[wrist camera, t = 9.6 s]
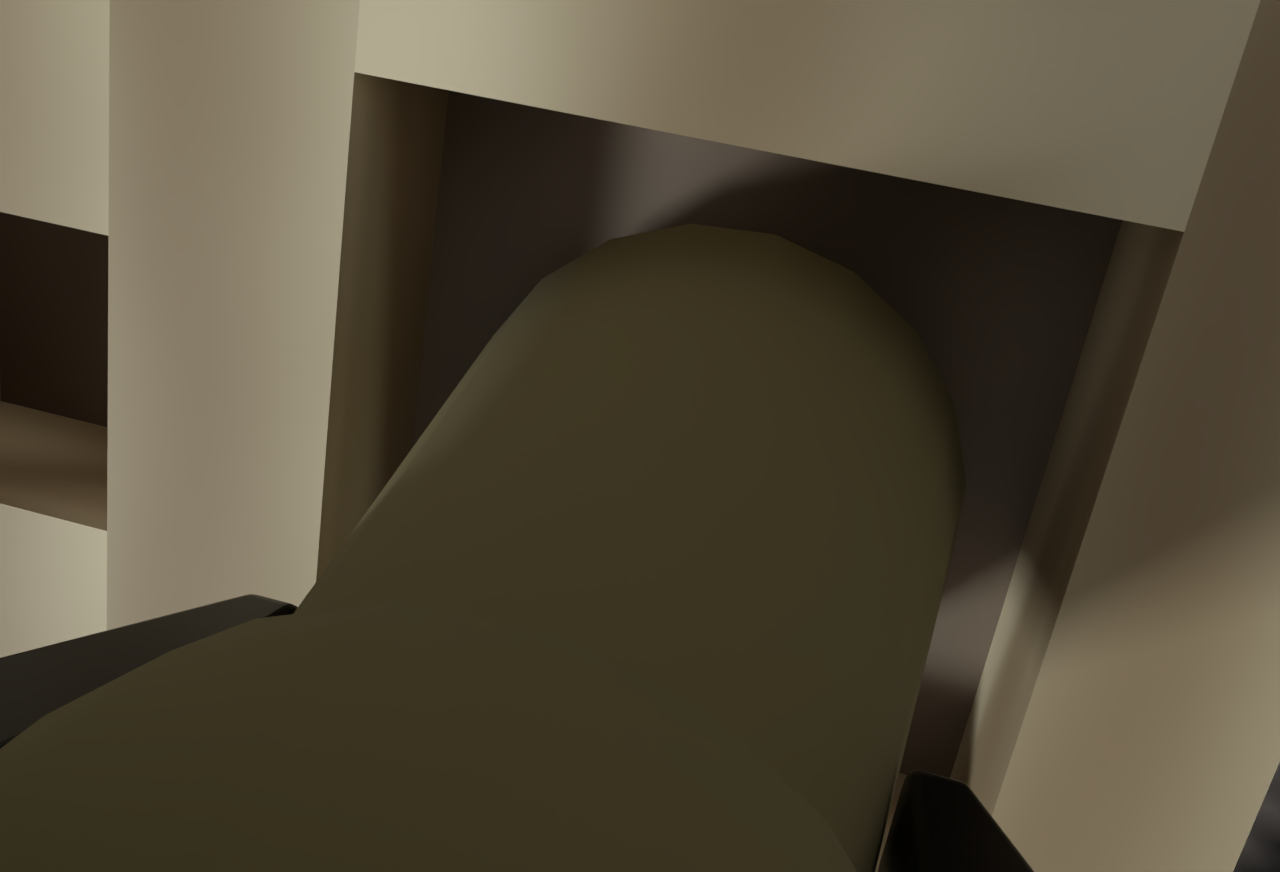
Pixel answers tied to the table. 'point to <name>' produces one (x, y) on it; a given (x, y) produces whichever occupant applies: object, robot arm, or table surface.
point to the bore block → (658, 199)
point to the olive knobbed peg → (570, 609)
